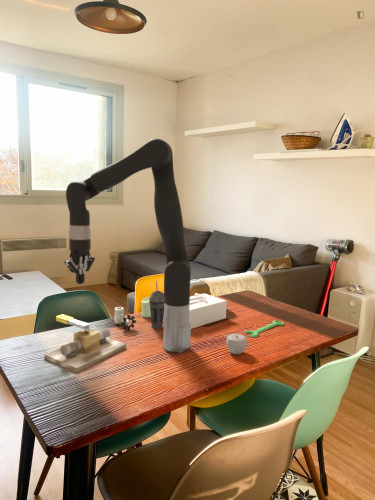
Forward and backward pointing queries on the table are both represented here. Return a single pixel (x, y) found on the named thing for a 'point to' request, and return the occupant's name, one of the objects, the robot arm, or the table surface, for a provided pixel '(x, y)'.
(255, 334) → the wrench
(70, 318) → the valve lever
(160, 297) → the beverage cup
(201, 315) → the tissue box
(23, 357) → the table surface
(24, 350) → the table surface
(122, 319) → the valve
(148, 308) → the candle
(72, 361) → the pipe board
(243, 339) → the apple
